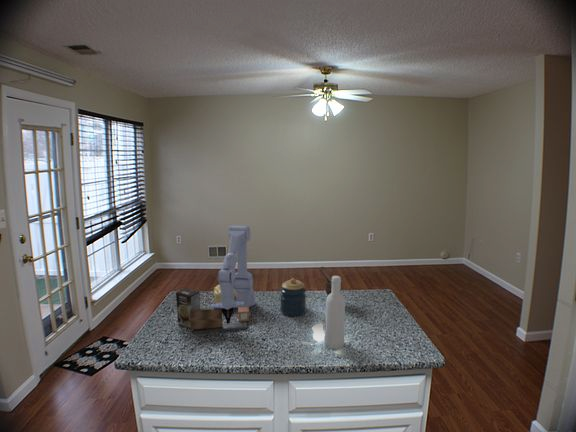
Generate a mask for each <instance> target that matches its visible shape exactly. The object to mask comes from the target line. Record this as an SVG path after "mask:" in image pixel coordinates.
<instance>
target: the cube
mask: <svg viewBox="0 0 576 432" xmlns="http://www.w3.org/2000/svg"><path fill="white" fill-rule="evenodd" d="M249 308H250V307H249ZM249 308H248V307H243V308H242V307H238V308H237V313H238V314H237V315H238V323H241V322H249V321H250V309H249ZM240 321H241V322H240Z"/></svg>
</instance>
